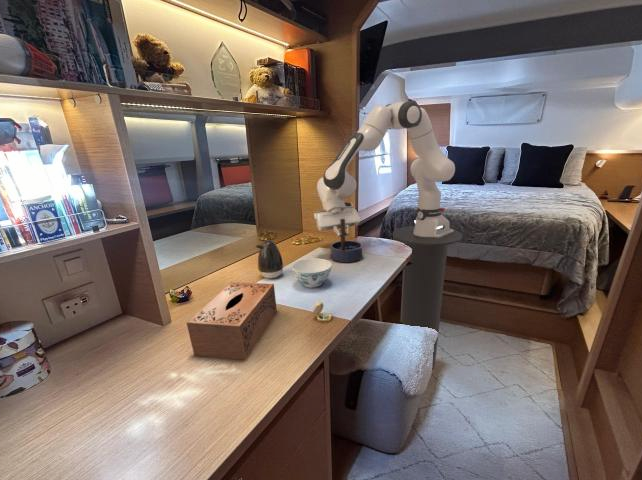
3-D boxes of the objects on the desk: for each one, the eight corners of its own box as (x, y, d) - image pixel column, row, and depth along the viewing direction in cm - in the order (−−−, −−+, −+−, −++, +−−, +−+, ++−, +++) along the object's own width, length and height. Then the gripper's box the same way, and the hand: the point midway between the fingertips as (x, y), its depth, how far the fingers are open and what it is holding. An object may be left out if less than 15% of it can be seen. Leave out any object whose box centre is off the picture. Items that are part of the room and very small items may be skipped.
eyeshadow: (325, 323, 102) (324, 308, 100) (312, 318, 105) (311, 304, 103) (333, 317, 105) (333, 303, 104) (321, 313, 108) (320, 299, 106)
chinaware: (339, 286, 127) (339, 267, 124) (303, 295, 120) (301, 275, 117) (321, 273, 139) (320, 255, 136) (287, 281, 133) (285, 263, 130)
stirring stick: (344, 252, 155) (343, 218, 149) (348, 254, 153) (347, 219, 147) (338, 253, 154) (337, 219, 148) (342, 255, 151) (341, 220, 145)
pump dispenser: (254, 276, 139) (249, 240, 133) (275, 269, 145) (272, 235, 139) (267, 283, 132) (262, 246, 126) (289, 276, 138) (285, 240, 132)
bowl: (350, 250, 165) (350, 238, 162) (368, 258, 153) (368, 246, 151) (325, 256, 158) (324, 244, 156) (342, 265, 147) (341, 252, 144)
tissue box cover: (235, 309, 113) (231, 282, 109) (276, 311, 110) (273, 283, 106) (194, 355, 90) (186, 322, 86) (245, 359, 87) (239, 326, 83)
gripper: (314, 207, 147) (323, 234, 143) (355, 202, 154) (366, 228, 150) (311, 215, 153) (320, 242, 149) (351, 210, 160) (361, 235, 156)
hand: (343, 235), depth 149 cm, fingers closed on stirring stick, 2 cm apart
